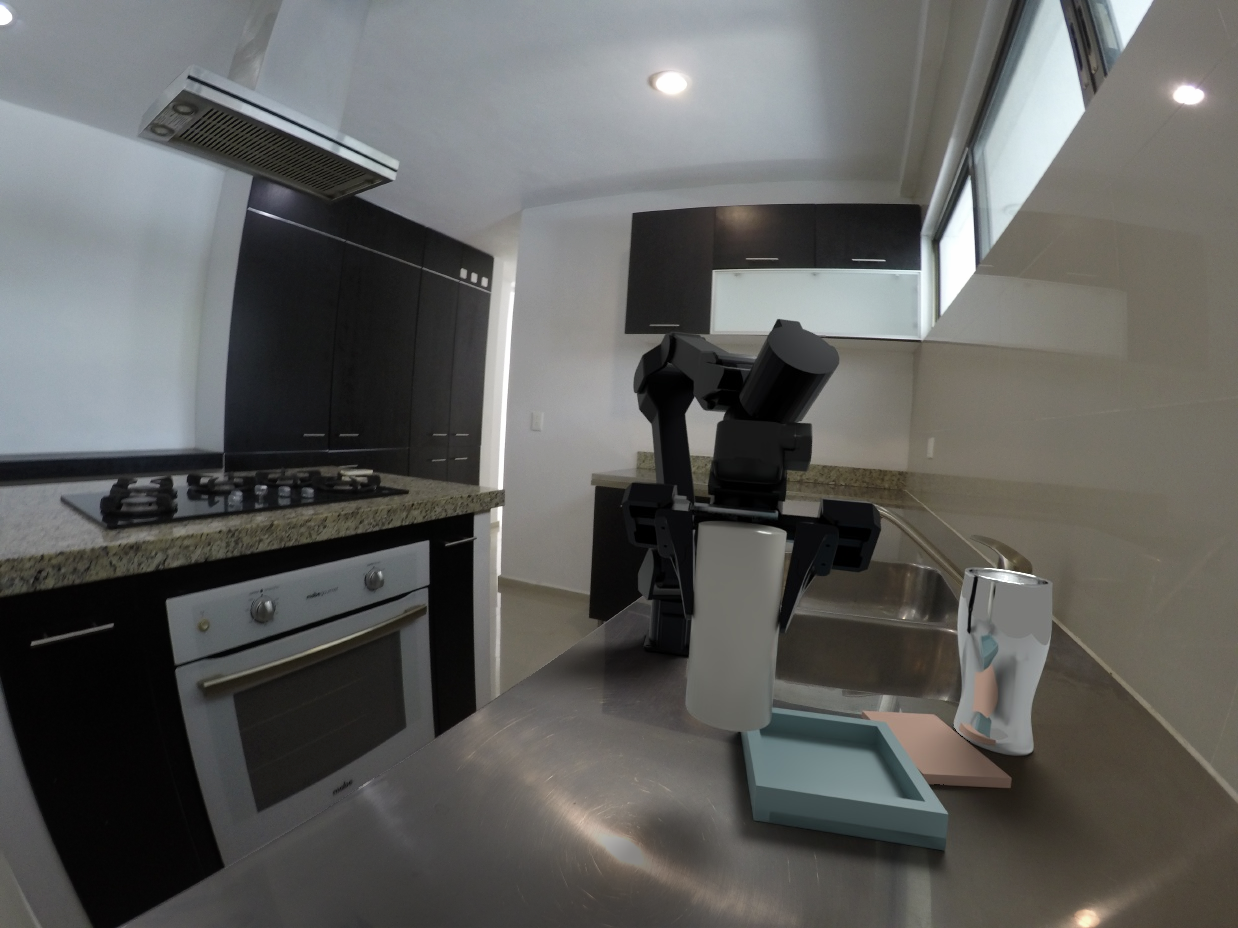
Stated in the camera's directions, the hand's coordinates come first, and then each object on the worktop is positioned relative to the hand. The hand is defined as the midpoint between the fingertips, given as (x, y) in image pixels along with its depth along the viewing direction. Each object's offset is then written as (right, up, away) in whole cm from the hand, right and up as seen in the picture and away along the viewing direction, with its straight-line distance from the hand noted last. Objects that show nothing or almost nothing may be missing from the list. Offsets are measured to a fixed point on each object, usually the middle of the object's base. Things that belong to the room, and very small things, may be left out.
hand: (734, 623), depth 38 cm
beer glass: (+26, -14, +13) cm, 33 cm away
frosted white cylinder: (0, -7, +2) cm, 7 cm away
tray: (+8, -13, +5) cm, 16 cm away
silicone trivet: (+19, -14, +10) cm, 25 cm away
